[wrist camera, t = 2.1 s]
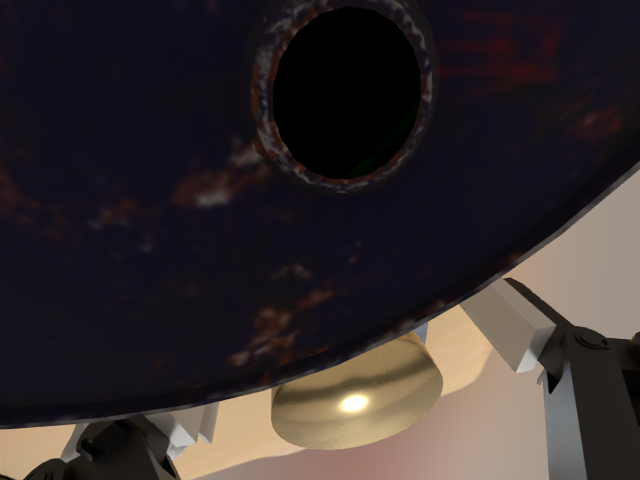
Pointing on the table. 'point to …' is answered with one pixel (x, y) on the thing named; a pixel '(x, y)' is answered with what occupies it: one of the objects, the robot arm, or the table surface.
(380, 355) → the brass flared knob
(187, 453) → the table surface
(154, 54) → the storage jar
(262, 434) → the table surface
